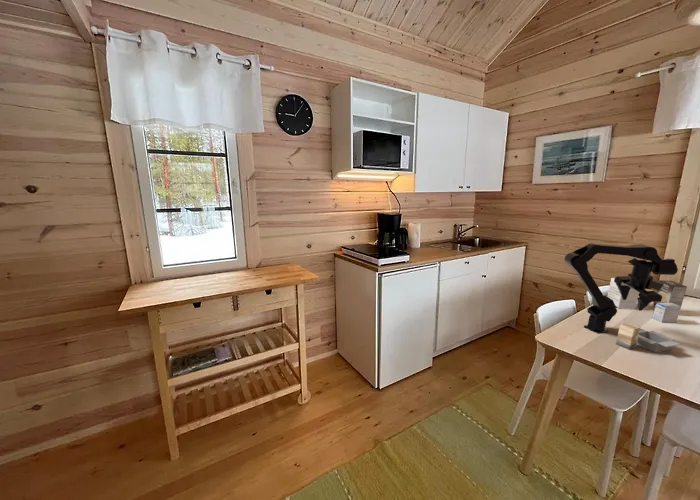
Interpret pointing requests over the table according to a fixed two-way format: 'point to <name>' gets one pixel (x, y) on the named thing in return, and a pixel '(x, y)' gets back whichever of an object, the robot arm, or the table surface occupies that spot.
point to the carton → (655, 341)
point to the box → (628, 336)
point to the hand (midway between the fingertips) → (632, 304)
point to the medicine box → (666, 312)
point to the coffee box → (671, 293)
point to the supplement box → (617, 298)
